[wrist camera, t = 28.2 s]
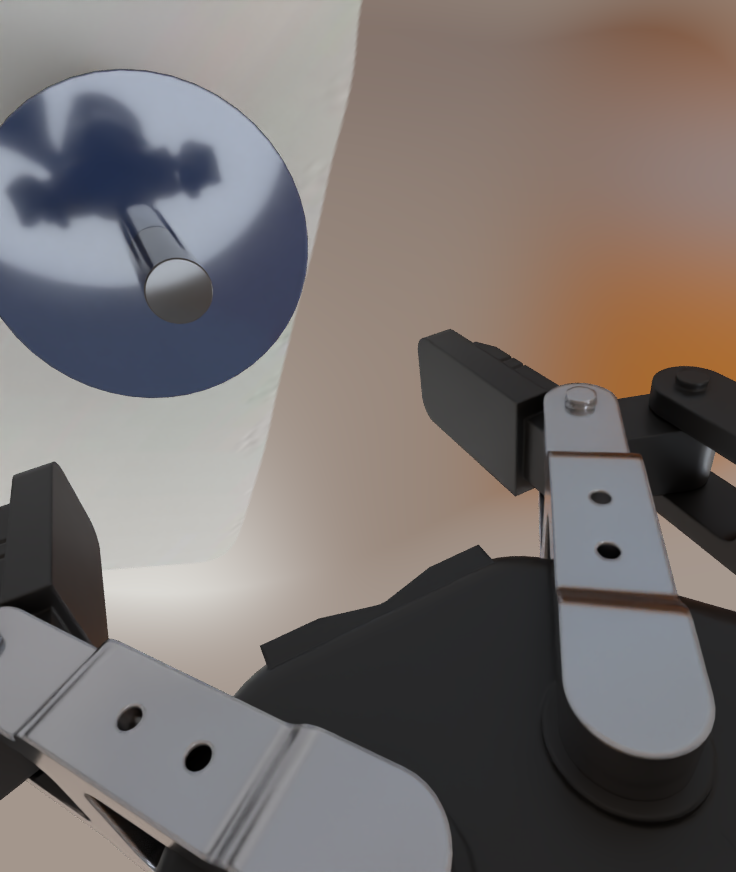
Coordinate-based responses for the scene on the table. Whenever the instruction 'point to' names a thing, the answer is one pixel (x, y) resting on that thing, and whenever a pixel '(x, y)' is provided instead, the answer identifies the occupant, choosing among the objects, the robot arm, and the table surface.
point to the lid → (145, 234)
